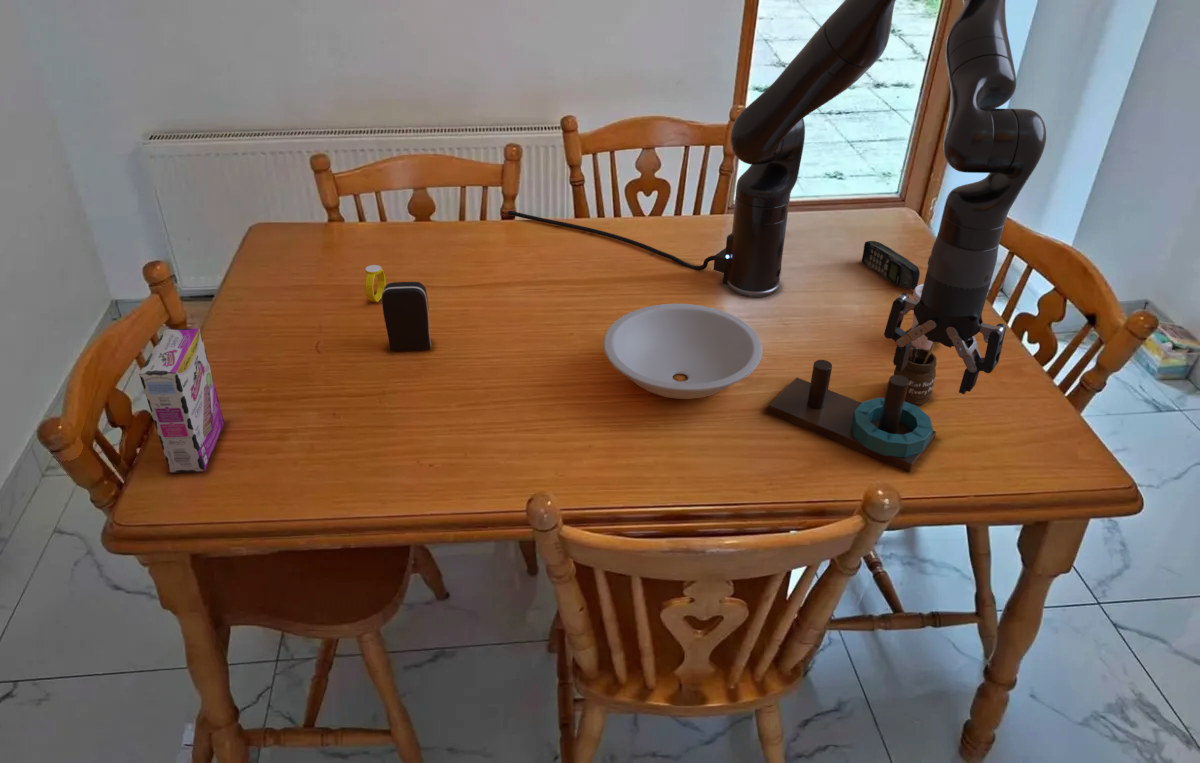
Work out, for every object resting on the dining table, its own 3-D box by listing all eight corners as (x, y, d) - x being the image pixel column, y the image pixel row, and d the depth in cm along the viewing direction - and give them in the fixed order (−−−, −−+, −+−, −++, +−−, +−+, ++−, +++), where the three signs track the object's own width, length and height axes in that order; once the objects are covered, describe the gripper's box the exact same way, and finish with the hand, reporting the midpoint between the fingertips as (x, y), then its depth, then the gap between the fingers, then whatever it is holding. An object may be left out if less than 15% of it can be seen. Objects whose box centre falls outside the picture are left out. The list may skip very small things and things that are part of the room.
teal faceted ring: (839, 437, 131) (842, 423, 129) (871, 402, 137) (874, 389, 136) (910, 466, 125) (914, 453, 124) (939, 429, 132) (943, 416, 131)
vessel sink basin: (628, 437, 133) (630, 400, 129) (586, 349, 151) (585, 314, 148) (783, 411, 138) (789, 374, 134) (723, 328, 157) (727, 294, 153)
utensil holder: (881, 389, 143) (896, 322, 136) (914, 379, 145) (930, 313, 138) (906, 410, 138) (923, 342, 131) (940, 400, 140) (958, 332, 134)
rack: (767, 412, 138) (775, 353, 132) (795, 385, 143) (804, 327, 137) (909, 472, 127) (925, 410, 121) (934, 439, 133) (950, 379, 127)
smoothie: (944, 356, 150) (964, 280, 142) (903, 351, 151) (921, 275, 143) (940, 335, 155) (959, 260, 147) (901, 331, 156) (918, 256, 148)
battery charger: (433, 338, 154) (426, 277, 147) (431, 351, 151) (424, 289, 144) (391, 340, 153) (382, 278, 147) (388, 352, 150) (379, 290, 144)
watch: (379, 307, 162) (374, 277, 158) (363, 306, 162) (359, 276, 159) (391, 290, 167) (386, 261, 163) (376, 289, 167) (371, 260, 164)
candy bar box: (207, 472, 126) (176, 373, 116) (169, 474, 125) (135, 374, 116) (227, 422, 135) (200, 326, 125) (192, 424, 135) (162, 327, 125)
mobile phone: (862, 240, 174) (918, 272, 163) (874, 237, 175) (931, 269, 164) (858, 264, 177) (913, 298, 165) (870, 260, 178) (926, 294, 166)
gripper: (1028, 276, 113) (995, 385, 122) (915, 243, 120) (892, 349, 129) (1008, 301, 108) (975, 412, 117) (892, 265, 115) (869, 373, 124)
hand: (931, 379), depth 123 cm, fingers open, 8 cm apart
